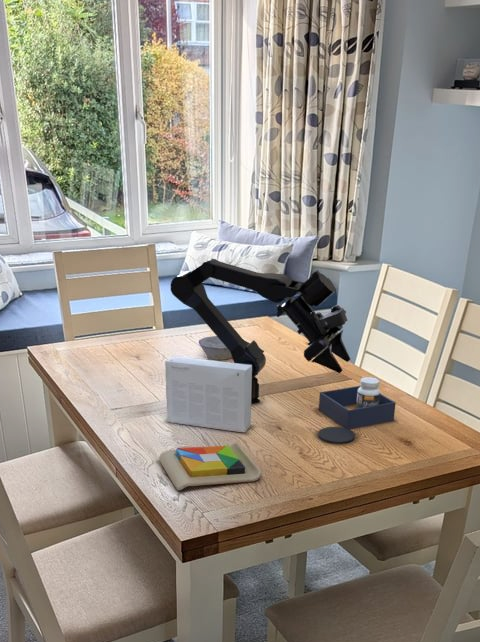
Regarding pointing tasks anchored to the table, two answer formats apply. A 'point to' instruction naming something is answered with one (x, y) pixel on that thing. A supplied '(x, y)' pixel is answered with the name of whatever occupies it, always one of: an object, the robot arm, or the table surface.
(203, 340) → the bowl
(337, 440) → the coaster
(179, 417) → the skincare box
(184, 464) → the wooden puzzle
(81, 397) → the table surface
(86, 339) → the table surface
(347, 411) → the open box
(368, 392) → the pill bottle
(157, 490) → the table surface
